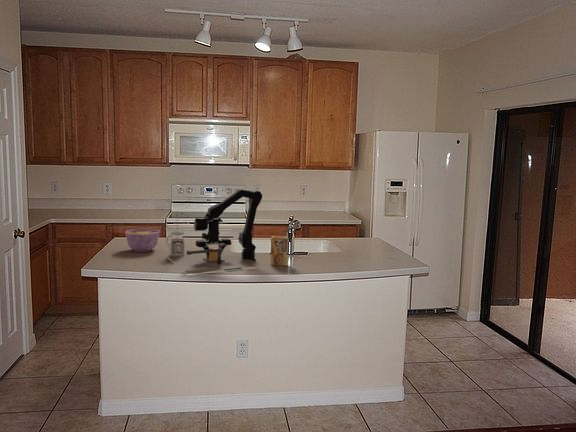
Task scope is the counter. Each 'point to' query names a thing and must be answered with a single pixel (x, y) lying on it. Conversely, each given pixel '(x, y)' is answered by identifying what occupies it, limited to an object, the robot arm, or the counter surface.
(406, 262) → the counter surface
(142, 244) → the bowl of food
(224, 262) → the socket plate
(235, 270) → the pad
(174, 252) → the french press
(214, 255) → the orange cube
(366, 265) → the counter surface
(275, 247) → the candy box
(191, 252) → the black knob lever
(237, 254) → the counter surface
